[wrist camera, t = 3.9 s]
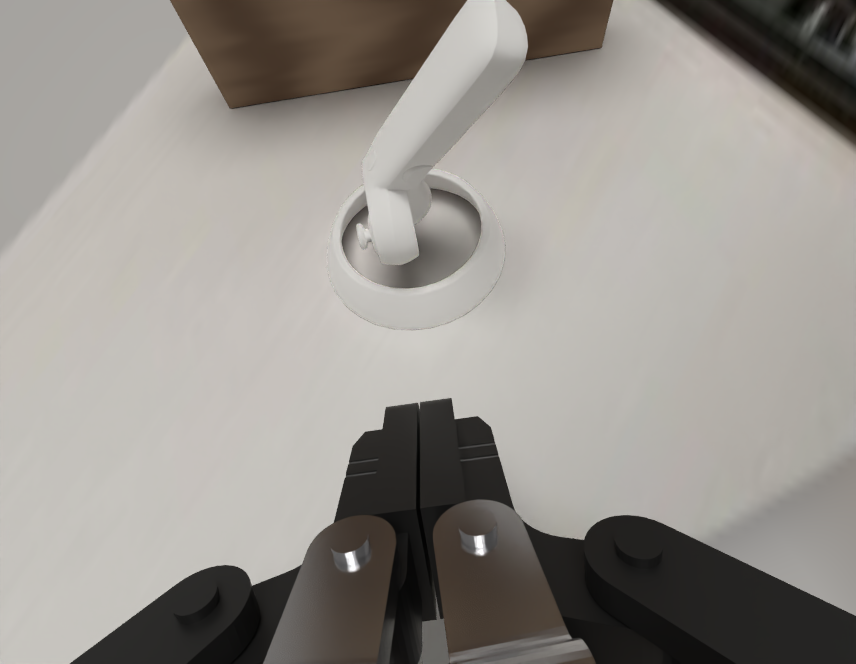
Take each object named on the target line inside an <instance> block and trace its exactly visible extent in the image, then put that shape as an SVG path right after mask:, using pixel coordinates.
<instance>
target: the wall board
mask: <svg viewBox="0 0 856 664" xmlns="http://www.w3.org/2000/svg"><path fill="white" fill-rule="evenodd" d="M170 1H171V3H172V5H173V7H174V8H175V10H176V12H177V14H178V16H179V17H180V19H181V21H182V23H183V24H184V26H185V28H186V30H187V32H188V34H189V35H190V37H191V39H192V41H193V43H194V45H195V46H196V48H197V50H198V52H199V54H200V55H201V57H202V59H203V61H204V63H205V64H206V66H207V68H208V70H209V72H210V73H211V75H212V77H213V79H214V81H215V82H216V84H217V86H218V88H219V90H220V91H221V93H222V95H223V97H224V99H225V100H226V102H227V104H228V106H229V108H236V107H242V106H248V105H254V104H260V103H266V102H272V101H278V100H284V99H291V98H297V97H303V96H309V95H315V94H321V93H327V92H333V91H339V90H345V89H352V88H358V87H364V86H370V85H376V84H382V83H388V82H394V81H400V80H406V79H413V78H414V77H415V76H416V74H417V73H418V71H419V70H420V68H421V67H422V65H423V64H424V62H425V61H426V60H427V58H428V57H429V55H430V54H431V52H432V51H433V49H434V48H435V46H436V45H437V43H438V42H439V40H440V39H441V37H442V36H443V34H444V33H445V31H446V30H447V28H448V27H449V25H450V24H451V22H452V21H453V19H454V18H455V16H456V15H457V14H458V12H459V11H460V10H461V8H462V7H463V6H464V4H465V3H466V1H467V0H170ZM506 1H507V2H508V3H509V4H510V5H511V6H512V7H513V8H514V9H515V10H516V11H517V12H518V14H519V15H520V17H521V19H522V21H523V24H524V26H525V29H526V34H527V40H528V49H527V54H526V59H525V60H528V59H535V58H541V57H547V56H553V55H559V54H565V53H571V52H577V51H583V50H589V49H596V48H602V43H603V39H604V35H605V31H606V27H607V23H608V19H609V15H610V11H611V7H612V3H613V0H506Z"/></svg>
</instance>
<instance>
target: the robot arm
mask: <svg viewBox="0 0 856 664" xmlns="http://www.w3.org/2000/svg"><path fill="white" fill-rule="evenodd" d="M436 597H437V603H438V608H439V614H440V619H444V623H445V631H446V638H447V645H448V653H449V661H450V663H449V664H856V616H854V615H852V614H850V613H848V612H846V611H844V610H842V609H840V608H838V607H836V606H834V605H832V604H830V603H827V602H825V601H823V600H821V599H819V598H817V597H815V596H813V595H810V594H808V593H807V592H804V591H802V590H800V589H798V588H796V587H794V586H792V585H790V584H788V583H786V582H784V581H781V580H779V579H777V578H775V577H773V576H771V575H769V574H767V573H765V572H763V571H760V570H758V569H756V568H754V567H752V566H750V565H748V564H746V563H744V562H742V561H739V560H738V559H735V558H733V557H731V556H729V555H727V554H725V553H723V552H721V551H719V550H716V549H714V548H712V547H710V546H708V545H706V544H704V543H702V542H700V541H698V540H696V539H694V538H691V537H689V536H687V535H685V534H683V533H681V532H679V531H677V530H675V529H673V528H671V527H668V526H666V525H664V524H662V523H660V522H657V521H655V520H652V519H648V518H645V517H639V516H630V515H623V516H614V517H609V518H606V519H603V520H601V521H599V522H597V523H596V524H595V525H593V526H592V527H591V528H590V530H589V531H588V532H587V534H586V536H585V540H579V539H572V538H564V537H558V536H552V535H549V534H546V533H543V532H540V531H538V530H536V529H534V528H532V527H531V526H529V525H528V524H526V523H525V522H524V521H523V520H522V519H521V518H520V516H519V515H518V514H517V513H516V511H515V510H514V507H513V504H512V501H511V497H510V494H509V490H508V487H507V483H506V480H505V476H504V473H503V469H502V465H501V462H500V458H499V456H498V451H497V448H496V445H495V441H494V437H493V434H492V430H491V427H490V426H489V425H487V424H486V423H485V422H484V421H483V420H482V419H480V418H479V417H478V416H476V417H469V418H462V419H454V412H453V406H452V399H451V398H448V399H441V400H434V401H426V402H420V409H419V405H418V403H413V404H405V405H398V406H391V407H386V410H385V417H384V423H383V429H382V430H375V431H368V432H365V433H364V434H363V435H362V436H361V437H360V438H359V440H358V441H357V442H356V443H355V444H354V445H353V448H352V452H351V456H350V460H349V465H348V468H347V472H346V478H345V480H344V484H343V488H342V492H341V496H340V500H339V504H338V508H337V512H336V516H335V520H334V523H333V524H331V525H330V526H328V527H327V528H325V529H324V530H323V531H322V532H320V533H319V534H318V535H317V536H316V538H315V539H314V540H313V541H312V543H311V544H310V546H309V548H308V550H307V553H306V555H305V558H304V560H303V563H302V565H300V566H299V567H297V568H295V569H293V570H291V571H288V572H286V573H284V574H281V575H279V576H276V577H274V578H271V579H268V580H266V581H263V582H261V583H258V584H256V585H253V586H252V584H251V582H250V579H249V577H248V575H247V573H246V572H245V571H244V570H242V569H240V568H238V567H235V566H229V565H223V566H215V567H211V568H207V569H204V570H201V571H199V572H197V573H195V574H192V575H191V576H189V577H187V578H185V579H184V580H182V581H181V582H179V583H178V584H176V585H175V586H174V587H172V588H171V589H170V590H168V591H167V592H165V593H164V594H163V595H161V596H160V597H159V598H157V599H156V600H155V601H153V602H152V603H151V604H149V605H148V606H147V607H145V608H144V609H143V610H141V611H140V612H139V613H137V614H136V615H135V616H133V617H132V618H131V619H129V620H128V621H126V622H125V623H124V624H122V625H121V626H120V627H118V628H117V629H116V630H114V631H113V632H112V633H110V634H109V635H108V636H106V637H105V638H104V639H102V640H101V641H100V642H98V643H97V644H96V645H94V646H93V647H91V648H90V649H89V650H87V651H86V652H85V653H83V654H82V655H81V656H79V657H78V658H77V659H75V660H74V661H73V662H71V663H70V664H422V659H421V652H422V621H430V620H437V617H436Z"/></svg>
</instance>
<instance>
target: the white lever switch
mask: <svg viewBox="0 0 856 664" xmlns="http://www.w3.org/2000/svg"><path fill="white" fill-rule="evenodd" d="M527 49H528V40H527V34H526V29H525V26H524V24H523V21H522V19H521V17H520V15H519V14H518V12H517V11H516V10H515V9H514V8H513V7H512V6H511V5H510V4H509V3H508V2H507V1H506V0H467V1H466V3H465V4H464V6H463V7H462V8H461V10H460V11H459V12H458V14H457V15H456V16H455V18H454V19H453V21H452V22H451V24H450V25H449V27H448V28H447V30H446V31H445V33H444V34H443V36H442V37H441V39H440V40H439V42H438V43H437V45H436V46H435V48H434V49H433V51H432V52H431V54H430V55H429V57H428V58H427V60H426V61H425V62H424V64H423V65H422V67H421V68H420V70H419V71H418V73H417V74H416V76H415V77H414V79H413V80H412V82H411V83H410V85H409V86H408V88H407V89H406V91H405V92H404V94H403V95H402V97H401V98H400V100H399V101H398V103H397V104H396V106H395V107H394V109H393V110H392V112H391V113H390V115H389V116H388V118H387V119H386V121H385V122H384V124H383V125H382V127H381V128H380V130H379V131H378V133H377V134H376V136H375V138H374V140H373V142H372V144H371V146H370V149H369V151H368V153H367V155H366V156H365V158H364V159H363V161H362V177H363V183H364V184H363V185H361V186H360V187H359V188H358V189H356V190H355V191H354V192H353V193H352V194H351V195H350V196H349V197H348V198H347V200H346V201H345V202H344V203H343V205H342V206H341V208H340V210H339V212H338V214H337V216H336V218H335V220H334V222H333V225H332V228H331V232H330V236H329V240H328V245H327V270H328V275H329V279H330V282H331V284H332V286H333V289H334V291H335V293H336V295H337V296H338V297H339V298H340V299H341V301H342V302H343V303H344V304H345V306H346V307H348V308H349V309H350V310H351V311H353V312H354V313H355V314H357V315H358V316H359V317H361V318H363V319H365V320H367V321H369V322H371V323H373V324H376V325H380V326H383V327H387V328H391V329H401V330H418V329H427V328H432V327H436V326H439V325H443V324H446V323H449V322H451V321H453V320H455V319H457V318H459V317H461V316H463V315H465V314H467V313H468V312H469V311H471V310H472V309H473V308H475V307H476V306H477V305H479V304H480V303H481V302H482V301H483V300H484V298H485V297H486V296H487V295H488V294H489V293H490V292H491V291H492V289H493V287H494V285H495V284H496V282H497V280H498V278H499V277H500V274H501V271H502V268H503V264H504V261H505V246H506V245H505V240H504V234H503V230H502V228H501V226H500V224H499V221H498V219H497V217H496V215H495V213H494V211H493V210H492V208H491V207H490V205H489V204H488V203H487V201H486V200H485V199H484V197H483V196H482V195H481V194H480V193H479V192H478V191H477V190H476V189H475V188H474V187H473V186H471V185H470V184H469V183H468V182H467V181H465V180H463V179H462V178H460V177H458V176H456V175H454V174H452V173H449V172H446V171H443V170H439V169H433V167H434V166H435V165H436V163H438V162H439V161H440V160H441V159H442V158H443V157H444V156H445V154H446V153H447V152H448V151H449V150H450V149H451V148H452V147H453V146H454V145H455V144H456V142H457V141H458V140H459V139H460V138H461V137H462V136H463V135H464V134H465V133H466V131H467V130H468V129H469V128H470V127H471V126H472V125H473V124H474V123H475V122H476V121H477V119H478V118H479V117H480V116H481V115H482V114H483V113H484V112H485V111H486V110H487V109H488V107H489V106H490V105H491V104H492V103H493V102H494V101H495V100H496V99H497V98H498V97H499V95H500V94H501V93H502V92H503V91H504V90H505V89H506V87H507V86H508V85H509V84H510V82H511V81H512V80H513V79H514V78H515V76H516V75H517V74H518V73H519V71H520V69H521V67H522V66H523V64H524V62H525V59H526V54H527ZM430 188H434V189H439V190H444V191H448V192H451V193H454V194H456V195H459V196H461V197H463V198H464V199H466V200H468V201H469V202H470V203H471V204H472V205H473V206H474V207H475V208H476V209H477V211H478V212H479V214H480V219H481V234H480V238H479V241H478V244H477V247H476V249H475V251H474V252H473V254H472V256H471V257H470V259H469V260H468V261H467V262H466V263H465V264H464V265H463V266H462V267H461V268H460V269H459V270H457V271H456V272H454V273H453V274H452V275H450V276H449V277H447V278H445V279H443V280H441V281H439V282H436V283H433V284H430V285H426V286H423V287H415V288H393V287H388V286H384V285H380V284H377V283H375V282H373V281H371V280H369V279H367V278H365V277H364V276H363V275H361V274H360V273H358V272H357V271H356V270H355V269H354V267H353V266H352V265H351V264H350V263H349V261H348V259H347V257H346V256H345V254H344V251H343V247H342V237H343V233H344V231H345V229H346V227H347V225H348V223H349V222H350V221H351V219H352V218H353V217H354V216H355V215H356V214H357V213H358V212H359V211H360V210H361V209H363V208H364V207H365V206H367V205H368V211H369V216H368V225H369V228H368V229H364V227H363V225H362V224H360V223H359V224H357V225H356V229H357V235H358V239H359V243H360V246H361V248H362V249H363V250H364V249H366V248H367V246H368V242H371V241H372V243H373V247H374V250H375V252H376V253H378V255H379V258H380V261H381V263H382V264H388V265H403V264H405V263H408V262H410V261H412V260H413V259H415V258H416V257H418V256H419V249H418V243H417V238H416V233H415V228H414V225H415V224H417V223H419V222H420V221H421V220H422V219H423V218H424V217H425V216H426V215H427V213H428V211H429V209H430V207H431V201H432V195H431V191H430Z"/></svg>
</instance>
